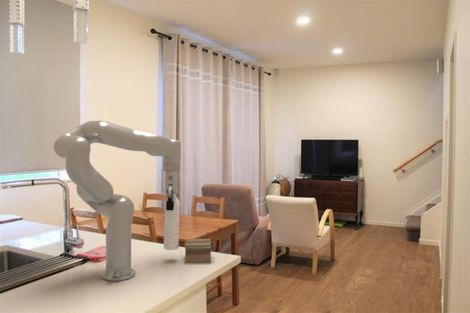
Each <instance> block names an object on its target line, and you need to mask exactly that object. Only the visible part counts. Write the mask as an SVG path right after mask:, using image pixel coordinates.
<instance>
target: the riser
mask: <svg viewBox="0 0 470 313" xmlns="http://www.w3.org/2000/svg"><path fill="white" fill-rule="evenodd" d="M211 241H212V240H211V238H186V239H185V244H184V249H185V251H184V252H185V255H184V264H185V263H210V264H211V262H212V261H211V258H212V257H211V255H212V253H211V251H212V244H211Z"/></svg>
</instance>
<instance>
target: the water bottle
mask: <svg viewBox="0 0 470 313" xmlns="http://www.w3.org/2000/svg"><path fill="white" fill-rule="evenodd" d="M171 194H173V193H171ZM161 196H167V194H166V193H165V191H163V192H161ZM166 201H167V199H166V200H165V201H164V224H163V225H164V230H163V249H164V250H166V251H174V250H178V249H179V246H180V243H179V241H180V239H179V238H180V214H181V213H180V210H181V209H180V208H181V203H180V200H179V198H178V197H177V194H175V193H174V196H173V201H174V210H166Z"/></svg>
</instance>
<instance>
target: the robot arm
mask: <svg viewBox="0 0 470 313" xmlns="http://www.w3.org/2000/svg"><path fill="white" fill-rule="evenodd" d="M181 142H182V141H180V139H170V138H167V137H165V136H162V135H158V134H154V133H149V132H145V131H142V130H137V129H133V128H129V127H126V126H123V125H120V124H116V123H113V122H109V121H107V120H89V121H87V122H85V123H81V124H80V125H78V126H77V127H74V128H73V129H71V130H70V131H68V132H65V133H63V134H61V135H60V136H58V137H57V138H56V140H55V141H54V143H53V150H54V152H55V154H56V156H58V157H59V158H63V159H65V172H66V174H67V176H68V178H69V180H71V181H72V182H73V183H74V184H75V185H76V193H77V195H78V197H79V198H80V199H81V200H82V201H83V202H84V203H85V204H87V205H88V206H89V207H90V208H91V209H92V210H94V211H95V212H96V213H97V214H99V215H100V216H103V217H105V218H108V220H107V224H106V228H105V270H103V271H102V272H101V278H102V280H105V281H109V282H110V281H112V282H118V281H126V280H129V279H132V278H133V277H135V275H136V271H135V270H134V269H133V268H132V227H133V217H134V212H135V205H134V203H133V201H132V200H131V198H129V197H128V196H125V195H122V194H117V193H114V187H113V185H112V184H111V183H110V182H109V180H108V179H106V178H105V177H104V176H103V175H102V174H101V173H100V172H99V171H98V170H97V169H96V168H95V167H94V166H93V165H92V164H91V160H90V156H91V155H90V154H91V145H92V144H101V145H106V146H110V147H114V148H118V149H122V150H126V151H132V152H143V153H144V152H145V153H147V155H149V156H151V157H162V171H163V172H165V176H164V178H165V179H164V180H165V182H164V184H165V186H164V187H165V188H164V190H165V191H164V192H165V193H166V200H167V201H166V200H165V202H166V210H174V201H173V196H174V193H175V194H176V195H177V194H178V191H179V190H178V188H179V187H178V186H179V185H178V184H179V173H178V172H181V158H182V157H181V151H182V150H181V149H182V143H181ZM171 193H173V194H171Z"/></svg>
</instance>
